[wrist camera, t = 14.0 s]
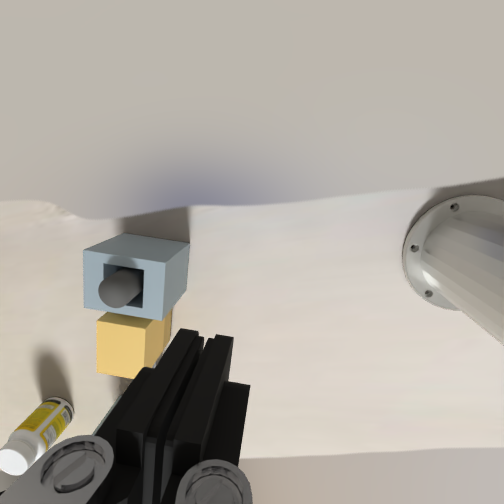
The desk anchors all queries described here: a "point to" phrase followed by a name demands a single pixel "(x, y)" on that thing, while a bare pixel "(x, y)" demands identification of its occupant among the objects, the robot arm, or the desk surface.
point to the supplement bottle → (35, 435)
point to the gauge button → (121, 287)
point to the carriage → (130, 343)
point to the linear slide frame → (155, 275)
